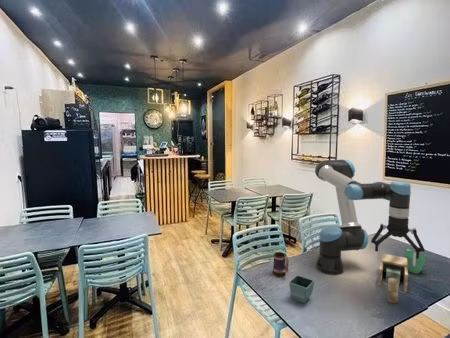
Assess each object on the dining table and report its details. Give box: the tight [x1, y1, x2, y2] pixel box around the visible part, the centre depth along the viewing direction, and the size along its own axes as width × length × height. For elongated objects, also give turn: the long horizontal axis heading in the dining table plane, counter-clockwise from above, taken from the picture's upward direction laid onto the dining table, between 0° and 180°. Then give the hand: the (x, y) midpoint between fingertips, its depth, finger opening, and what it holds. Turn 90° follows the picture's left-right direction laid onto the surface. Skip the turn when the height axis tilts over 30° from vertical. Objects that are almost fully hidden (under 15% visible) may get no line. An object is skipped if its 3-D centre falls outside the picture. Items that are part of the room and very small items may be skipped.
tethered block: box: [385, 266, 401, 304], centre depth 131 cm, size 6×25×10 cm, turn 147°
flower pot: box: [288, 274, 315, 304], centre depth 124 cm, size 9×9×9 cm
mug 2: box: [404, 248, 427, 275], centre depth 151 cm, size 15×10×10 cm
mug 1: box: [272, 251, 290, 278], centre depth 146 cm, size 10×7×12 cm
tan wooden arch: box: [378, 252, 409, 294], centre depth 139 cm, size 12×19×10 cm, turn 147°
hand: (395, 261), depth 121 cm, fingers open, 13 cm apart
